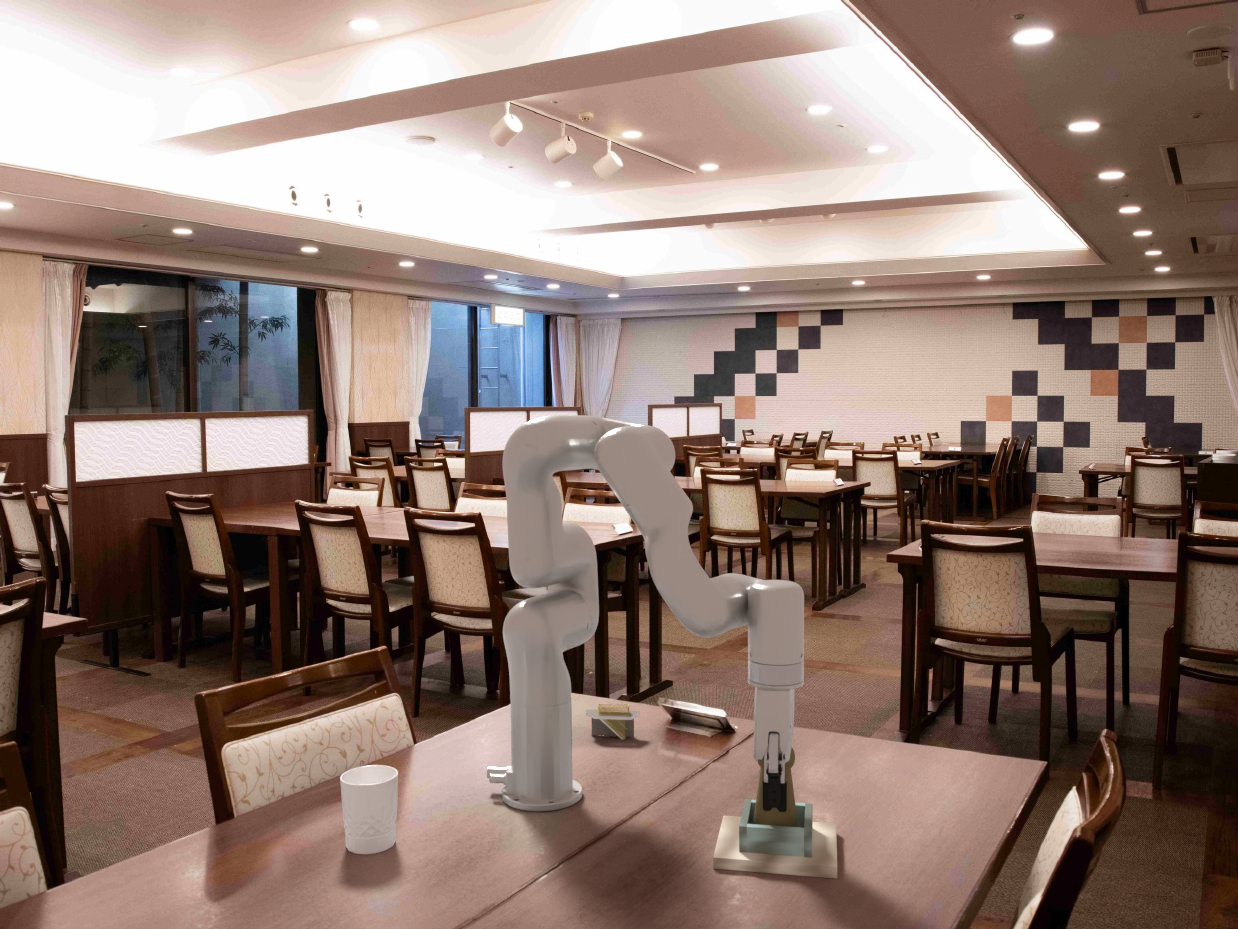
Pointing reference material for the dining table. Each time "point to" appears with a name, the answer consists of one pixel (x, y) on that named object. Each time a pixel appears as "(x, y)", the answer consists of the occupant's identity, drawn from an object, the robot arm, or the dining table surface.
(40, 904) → the dining table surface
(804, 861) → the shaker caddy
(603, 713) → the platform
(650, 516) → the robot arm
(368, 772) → the white cup
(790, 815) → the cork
